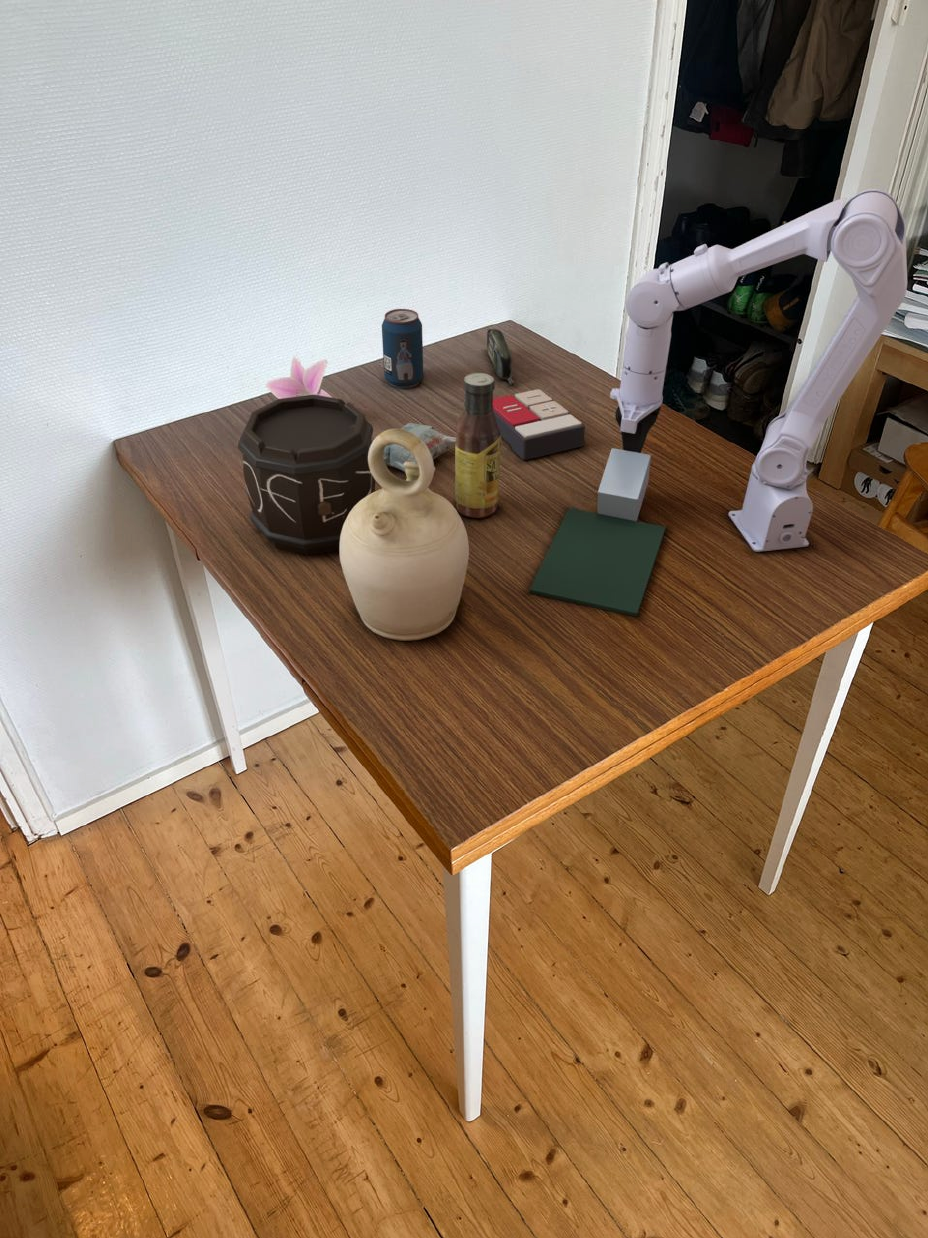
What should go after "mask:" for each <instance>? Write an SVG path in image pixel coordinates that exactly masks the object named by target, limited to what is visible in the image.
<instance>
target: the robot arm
mask: <svg viewBox="0 0 928 1238" xmlns="http://www.w3.org/2000/svg"><path fill="white" fill-rule="evenodd" d="M847 199H848V198H847V197H843V198H840V199H836V200H833V201H831V202H829V203H827V204H825V205H822V206H821V207H818V208H816V209H814V210H811V211H808V213H805V214H804V215H801V216H799V217H797V218H795V219H793V220H790V221H789V222H786V223H784V224H782V225H780V226H778V227H776V228H774V229H772V230H770V231H768V232H765V233H763V234H762V235H759V236H757V237H755V238H753V239H751V240H749V241H746V242H745V243H742V244H741V245H738V246H736V247H734V248H728V247H726V246H723V245H720V244H715V245H712V246H711V247H708V245H707V244H706V243H704V244H701V245H700V246H697V247H696V248H695V250H694V251H693V254H692V255H689V256H687V257H685V258H683V259H681V260H678V261H676V262H674V263H671V264H669V262H667V261H666V262H664V263H662V264H660V265H659V267H658V268H652V269H650V270H648V271H645V273H643V274H642V275H641V277H640V278H639V279H638V280H637V282H636V283H635V285H634V286H633V287H632V288H631V289H630V291H629V292H628V295H627V297H626V300H625V301H626V302H625V310H626V313H627V315H628V317H629V318H628V325H627V326H628V328H627V329H626V335H625V344H624V351H623V360H622V369H621V377H620V384H619V388H618V387H614V388H612V389H611V392H610V393H609V398H610V399H611V400H616V401H617V403H618V406H617V408H616V410H615V412H614V413H615V414H614V418H615V421H616V423H617V425H618V427H619V431H620V434H621V441H622V442H621V444H622V450H626V451H631V452H637V453H642V451H643V448H644V445H645V443H646V439H647V436H648V433H649V431H650V430H651V429H652V427H653V426H654V425H655V423H656V422H657V419H658V417H659V415H660V412H661V408H662V404H663V401H664V400H663V399H664V396H663V389H664V383H665V377H666V372H667V365H668V358H669V352H670V346H671V340H672V339H671V338H672V325H673V319H674V312H681V311H686V310H688V309H690V308H693V307H695V306H698V305H700V304H703V303H705V302H709V301H710V300H713V299H715V298H717V297H720V296H723V295H725V294H728V293H730V292H732V291H733V289H734V288H735V285H736V283H737V281H738V279H739V278H740V277H743V276H745V275H748V274H750V273H754V272H756V271H759V270H761V269H765V268H767V267H769V266H772V265H775V264H778V263H781V262H783V261H786V260H789V259H792V258H795V257H798V256H801V255H806V256H809V257H811V258H814V259H816V260H818V261H821V262H823V263H827V262H828V260H829V258H830V255H831V254H832V256H833V259H835V261H836V262H837V264H838V265H839V266H840V267H841V269H843V270H844V271H845V272H846V273H847V274H848V276H850V278H851V280H852V283H853V285H854V287H855V290H856V292H857V295H856V297H855V298H854V300H853V302H852V304H851V305H850V307H849V309H848V310H847V312H846V314H845V315H844V317H843V319H842V320H841V322H840V324H839V325H838V327H837V328H836V330H835V332H834V334H833V335H832V336H831V338H830V340H829V342H828V343H827V344H826V347H825V348H824V350H823V352H822V353H821V354H820V356H819V358H818V359H817V362H816V364H815V365H814V367H813V368H812V370H811V371H810V373H809V375H808V376H807V378H806V380H805V381H804V383H803V385H802V386H801V388H800V390H799V391H798V393H797V394H796V396H795V398H794V399H792V401H791V402H790V403H789V405H787V408H786V409H785V410H784V411H783V413H781V414H779V415H778V416H776V417H775V418H773V419H772V420H771V421H770V423H769V424H768V426H766V427H767V428H766V430H765V436H764V439H763V442H762V444H761V447H760V449H759V451H758V453H757V455H756V457H755V460H754V462H753V464H752V466H751V470H750V475H749V479H748V483H747V487H746V492H745V496H744V500H743V504H742V509H740V510H731V511H730V510H729V512H728V514H727V515H728V517H729V518H730V520H731V521H732V522H733V524H734V525H735V526H736V528H737V530H738V531H739V532H740V534H741V535H742V536H743V538H744V539H745V541H746V542H747V544H748V545H749V546H750V548H751V549H752V550H753V551H754V552H757V553H760V552H761V553H762V552H770V551H777V550H778V551H779V550H787V549H796V548H797V549H798V548H805V547H808V546H809V544H810V542H809V541H808V539H807V538H806V536H807V533H808V528H809V526H810V522H811V518H812V515H813V513H814V512H813V511H814V505H813V502H812V500H811V498H810V496H809V494H808V490H807V480H808V475H809V471H808V469H807V461H808V458H809V455H810V451H811V450H812V448H813V447H814V445H815V442H816V441H817V439H818V436H819V434H820V432H821V431H822V429H823V426H824V424H825V423H826V421H827V419H828V418H829V416H830V415H831V413H832V411H833V410H834V408H835V407H836V406H837V404H838V402H839V401H840V399H841V398H842V396H843V395H844V393H845V391H846V390H847V388H848V387H849V385H850V384H851V382H852V381H853V379H854V378H855V376H856V374H857V373H858V371H859V370H860V368H861V367H862V365H863V364H864V362H865V361H866V359H867V357H868V356H869V354H870V353H871V351H872V350H873V348H874V347H875V345H876V343H878V340H879V339H880V337H881V336H882V334H883V333H884V331H885V330H886V329H887V326H888V325H889V324H890V322H891V320H892V319H893V318H894V316H895V315H896V312H897V311H898V309H899V308H900V306H901V305H902V304H903V302H904V300H905V297H906V294H907V290H908V289H907V288H908V265H907V264H908V263H907V261H908V259H907V223H906V220H905V217H904V215H903V213H902V211H901V208H900V207H899V204H898V202H897V200H896V199H895V198H894V197H893V195H892V194H890V192H887V191H886V190H883V189H878V188H871V189H866V190H862V191H859V192H857V193H856V194H854V195H853V196H852V197H850V199H848V201H847Z"/></svg>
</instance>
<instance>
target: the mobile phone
mask: <svg viewBox="0 0 928 1238" xmlns="http://www.w3.org/2000/svg"><path fill="white" fill-rule="evenodd" d="M486 352H487V354H488V357H489V358H490V360H491V362H492V365H493V369H494V370H493V371H494V373H495V375H496V376H497V377H498V378H500V379H502V380H507V381H508V383H509V384H510V385H511V386H514V384H515V382H514V381H513V379H512V378H513V377H512V375H513V357H512V350H511V348H510V344H509V343H508V341H507V340H506V337H505V336H504V334H503V332H502V331H501V330H499V329H496V328H489V329H488V330H487V331H486Z"/></svg>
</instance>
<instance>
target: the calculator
mask: <svg viewBox="0 0 928 1238" xmlns="http://www.w3.org/2000/svg"><path fill="white" fill-rule="evenodd" d="M493 411H494V414H495V417H496V420H497V423H498V426H499V429H500V432H501V439H504V441H506V442H507V443H508V444H509V445H510V447H511V450H512V451H513V452H514V454H516V455H517V456H518V457H520V459H521V460H523V461H527V460H531V459H536V458H541V457H544V456H548V455H552V454H557V453H560V452H564V451H569V450H574V449H578V448H581V447H584V445H585V433H586V424H584V423H583V422H582V421H580V420H579V419H577V418H576V417H575V416H573V414H571V413H570V412H569V410H567V409H566V408H565V407H563V406H562V405H561V404H560V403H558V402H557V401H555V400H553V398H552V397H551V396H549V395H548V394H547V393H545V392H544V391H542V389H539V388H538V389H531V390H528V391H527V390H526V391H523V392H519V393H515V394H514V395H512V394H509V395H503V396H498V397H495V398H493Z"/></svg>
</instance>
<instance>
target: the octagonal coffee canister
mask: <svg viewBox="0 0 928 1238" xmlns="http://www.w3.org/2000/svg"><path fill="white" fill-rule="evenodd" d="M331 397H332V396H331ZM331 397H325V396H320V395H306V396H298V397H290V398H282V399H278V398H277V399H276V400H274V401H271V402H270V403H267V404H266V405H263V406H262V407H260V408H257V409H256V410H253V411H252V412H251V413H250V416H249V417H248V421H246V424H245V426H244V428H243V430H242V433H241V434H240V438H239V440H238V442H237V443H238V444H237V449H238V450H239V451H240V452H241V454H242V468H243V469H242V471H243V477H244V483H245V489H246V495H247V498H248V501H249V505H250V507H251V512H250V515H249V519H250V521H251V523H252V524H253V525H254V526H255V527H256V528H257V530H258V531H259V532H260V533H261V534H262V535H263V536H264V537H265V538H266V539H267V540H268V542H270V543H271V544H272V546H274V548H275V549H279V550H284V551H289V552H292V553H297V554H300V555H301V554H302V555H306V556H309V555H310V556H311V555H317V554H323V553H329V552H334V551H335V552H336V551H340V536H341V531H342V528H343V525H344V523H345V520H346V519H347V516H348V514H349V513H350V511H351V510H352V509H353V507H354V506H355V505H356V504H357V503H358V502H359V501H360V500H362V499H363V498H365V497H366V496H368V495H370V494H371V493H373V492H375V491H376V480H375V479H374V477H373V475H372V474H371V471H370V468H369V464H368V453H369V449H370V446H371V444H372V442H373V440H372V438H373V435H374V434H373V433H374V427H373V425H372V424H371V423H370V422H369V421H368V420H367V419H366V415H365V414H364V413H363V412H362V411H360V410H359V409H358V408H357V407H355V405H353V404H352V403H351V402H347V403H346V402H345V401H344V400H343V399H342V398H336V397H332V398H331Z"/></svg>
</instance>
